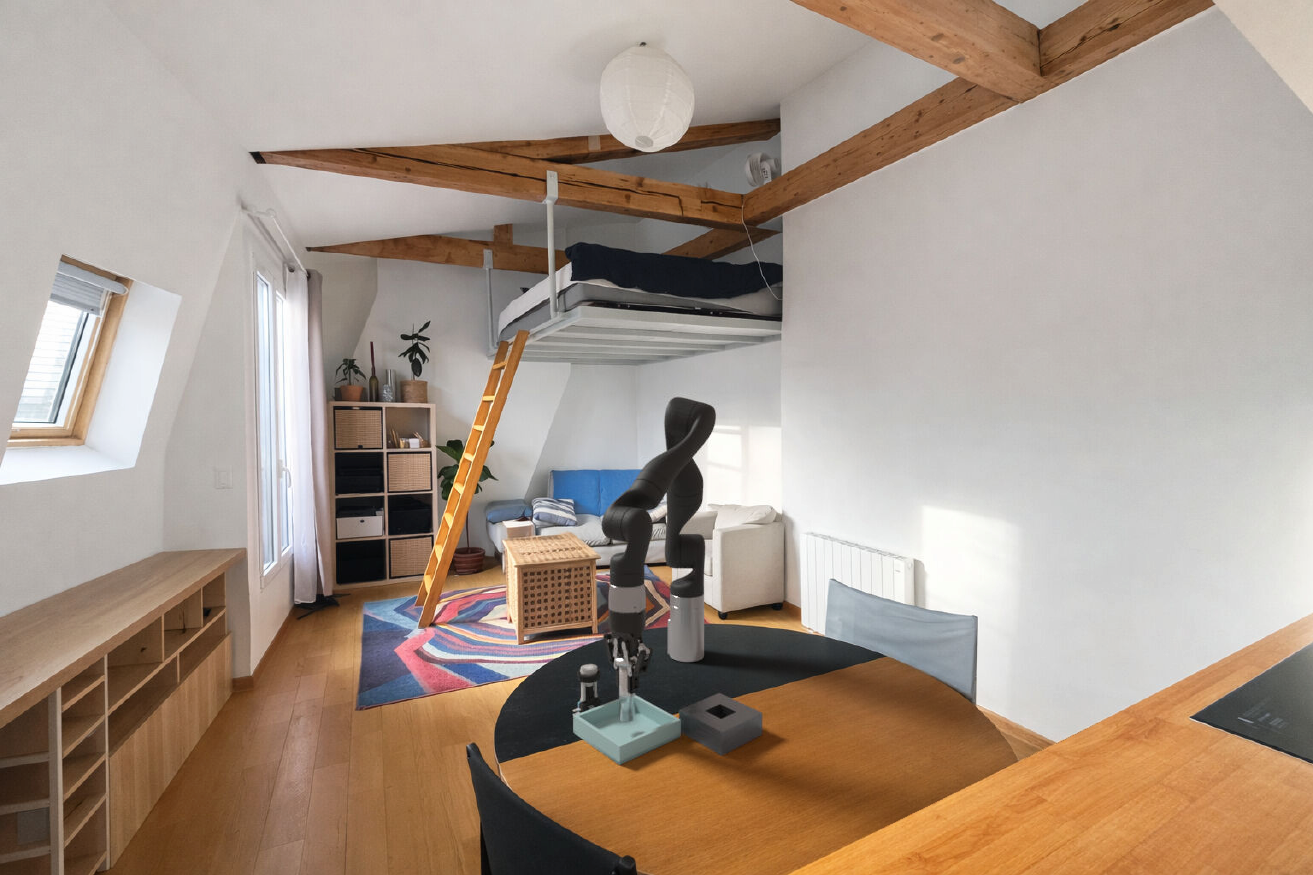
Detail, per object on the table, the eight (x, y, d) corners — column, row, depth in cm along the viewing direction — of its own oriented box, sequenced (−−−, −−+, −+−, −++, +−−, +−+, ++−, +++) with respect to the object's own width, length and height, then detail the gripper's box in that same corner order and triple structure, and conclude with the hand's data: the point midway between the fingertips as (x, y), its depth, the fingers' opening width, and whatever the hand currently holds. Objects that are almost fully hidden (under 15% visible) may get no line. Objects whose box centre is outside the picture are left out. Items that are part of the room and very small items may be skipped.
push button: (579, 722, 130) (579, 675, 129) (566, 712, 134) (566, 667, 134) (605, 713, 134) (605, 668, 133) (593, 704, 138) (593, 660, 138)
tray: (573, 732, 125) (573, 715, 125) (632, 709, 136) (632, 693, 136) (619, 765, 114) (619, 746, 114) (680, 736, 124) (680, 719, 124)
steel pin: (609, 717, 125) (609, 656, 124) (629, 709, 128) (628, 650, 128) (624, 726, 121) (624, 664, 121) (644, 718, 124) (644, 657, 124)
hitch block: (679, 731, 126) (679, 709, 126) (719, 713, 134) (719, 692, 134) (721, 755, 117) (721, 732, 117) (762, 734, 125) (762, 712, 125)
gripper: (591, 601, 127) (592, 683, 127) (634, 617, 116) (634, 707, 117) (620, 594, 132) (620, 673, 132) (664, 609, 121) (664, 695, 121)
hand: (627, 688), depth 124 cm, fingers closed on steel pin, 3 cm apart
